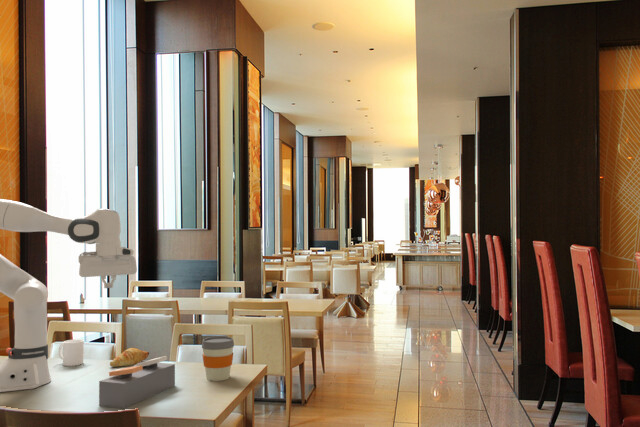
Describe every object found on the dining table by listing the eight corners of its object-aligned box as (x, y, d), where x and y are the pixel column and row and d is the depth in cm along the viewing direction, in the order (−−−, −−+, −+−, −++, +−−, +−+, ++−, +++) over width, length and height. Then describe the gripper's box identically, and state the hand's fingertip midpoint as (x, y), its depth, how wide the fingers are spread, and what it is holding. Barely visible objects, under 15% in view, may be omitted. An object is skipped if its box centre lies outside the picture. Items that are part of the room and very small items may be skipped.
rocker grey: (137, 367, 193) (136, 363, 194) (145, 364, 198) (145, 360, 198) (159, 362, 190) (158, 358, 191) (167, 359, 195) (166, 355, 195)
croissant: (115, 377, 225) (121, 361, 224) (100, 364, 230) (106, 348, 228) (152, 365, 244) (158, 350, 242) (138, 353, 248) (143, 338, 247)
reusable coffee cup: (201, 383, 202) (201, 343, 203) (202, 374, 214) (201, 337, 215) (234, 380, 205) (234, 341, 205) (233, 372, 217) (233, 335, 218)
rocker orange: (109, 376, 180) (108, 372, 181) (119, 372, 185) (119, 368, 185) (133, 373, 177) (132, 368, 177) (142, 369, 182) (142, 365, 182)
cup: (73, 366, 230) (74, 343, 231) (51, 365, 234) (52, 342, 234) (87, 362, 238) (87, 339, 238) (66, 360, 242) (66, 338, 242)
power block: (99, 405, 176) (99, 377, 176) (152, 383, 202) (152, 359, 203) (123, 408, 172) (123, 380, 173) (174, 385, 199) (174, 361, 199)
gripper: (79, 252, 192) (80, 290, 192) (137, 250, 204) (138, 286, 203) (77, 252, 198) (77, 289, 197) (133, 250, 209) (133, 285, 208)
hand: (108, 287), depth 200 cm, fingers closed
